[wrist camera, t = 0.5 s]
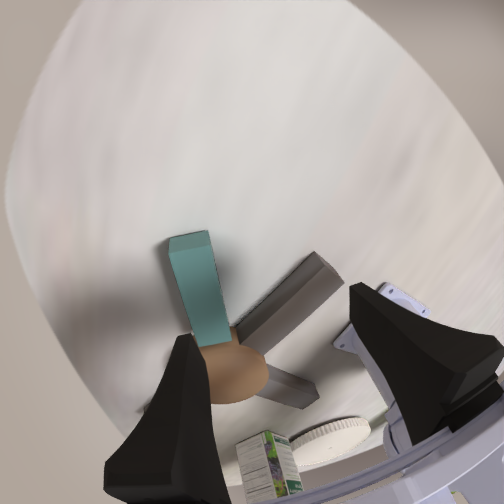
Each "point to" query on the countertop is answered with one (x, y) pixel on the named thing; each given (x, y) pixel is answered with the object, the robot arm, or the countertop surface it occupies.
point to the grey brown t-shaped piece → (270, 341)
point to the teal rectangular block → (200, 287)
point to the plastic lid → (329, 441)
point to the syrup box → (267, 467)
